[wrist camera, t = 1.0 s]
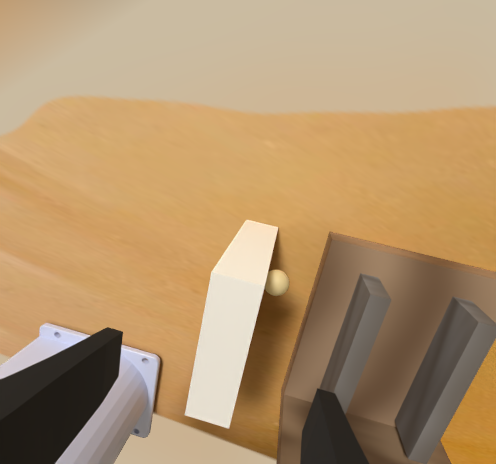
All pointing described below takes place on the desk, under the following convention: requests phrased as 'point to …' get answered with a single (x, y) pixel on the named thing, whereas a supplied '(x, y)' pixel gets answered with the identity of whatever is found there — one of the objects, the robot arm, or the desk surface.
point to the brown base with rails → (388, 348)
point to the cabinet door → (232, 321)
